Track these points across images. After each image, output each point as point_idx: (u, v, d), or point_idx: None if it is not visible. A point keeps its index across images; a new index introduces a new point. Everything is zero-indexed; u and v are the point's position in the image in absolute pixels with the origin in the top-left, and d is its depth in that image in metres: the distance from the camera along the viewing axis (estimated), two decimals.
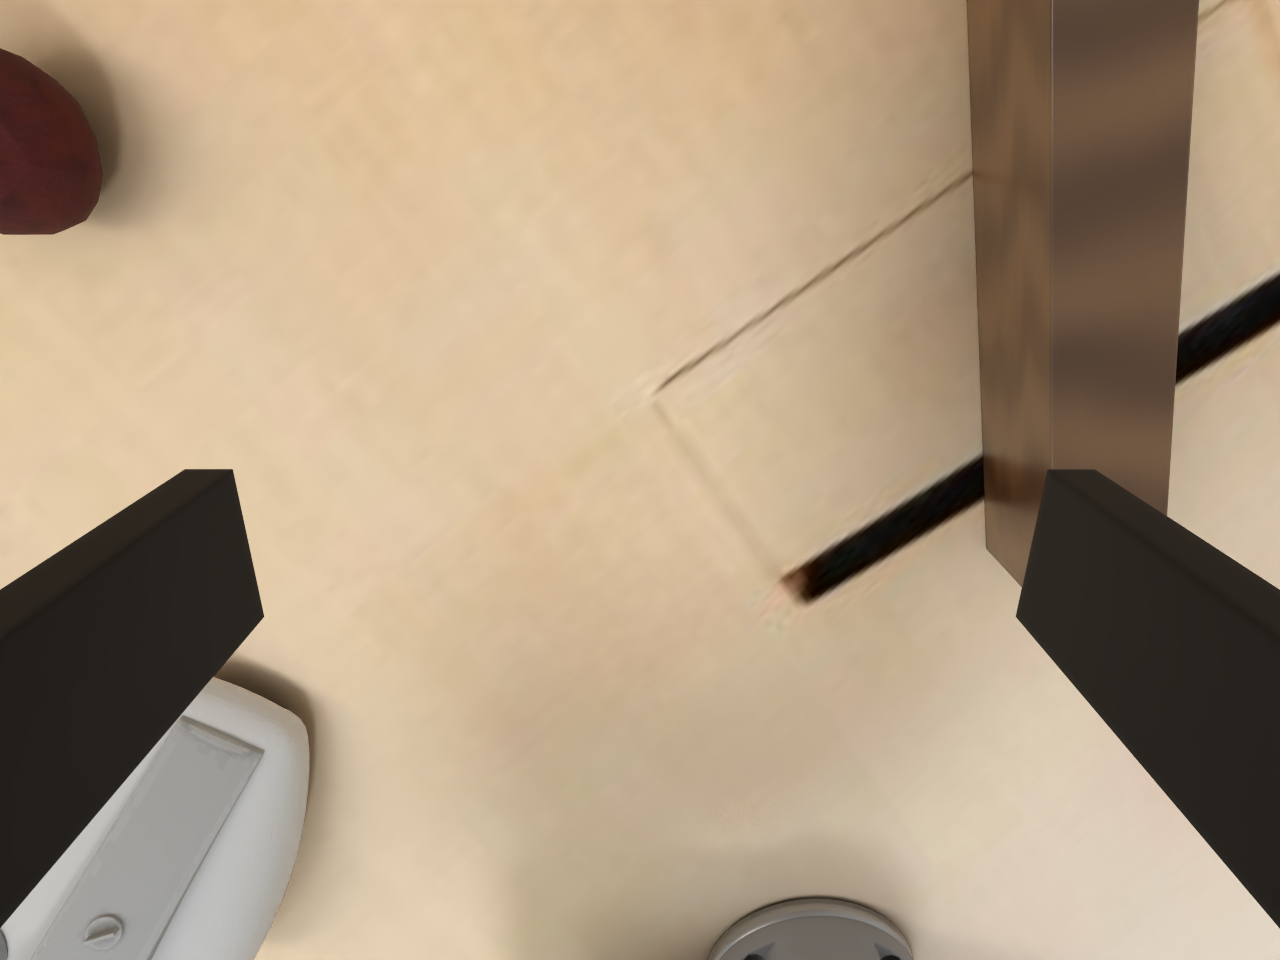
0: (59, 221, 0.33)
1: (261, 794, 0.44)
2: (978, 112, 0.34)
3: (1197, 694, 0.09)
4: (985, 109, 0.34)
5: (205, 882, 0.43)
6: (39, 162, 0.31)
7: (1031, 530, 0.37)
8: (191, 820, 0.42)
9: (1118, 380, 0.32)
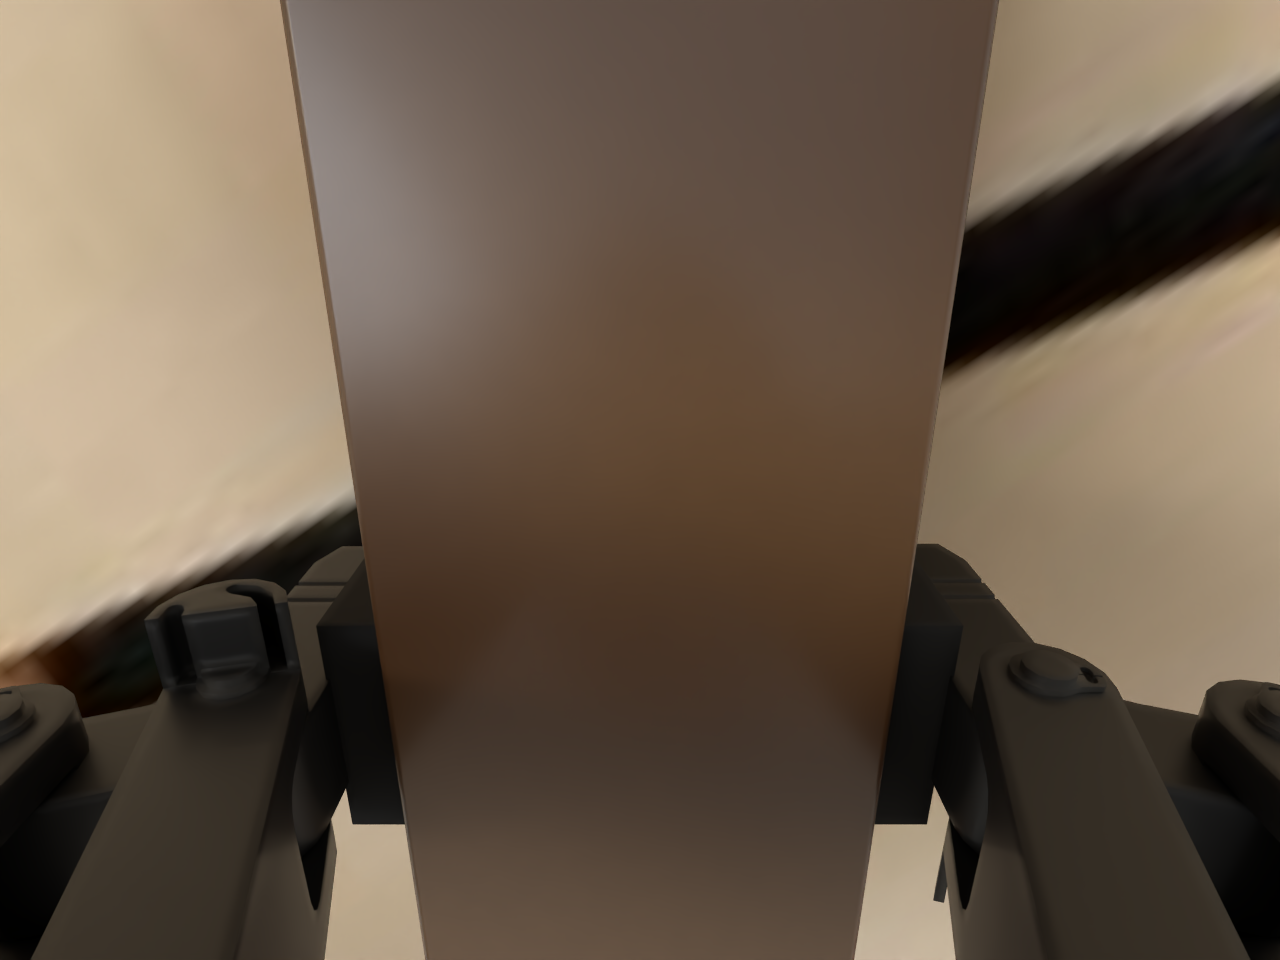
0: None
1: None
2: None
3: None
4: None
5: None
6: None
7: None
8: None
9: (667, 19, 0.05)
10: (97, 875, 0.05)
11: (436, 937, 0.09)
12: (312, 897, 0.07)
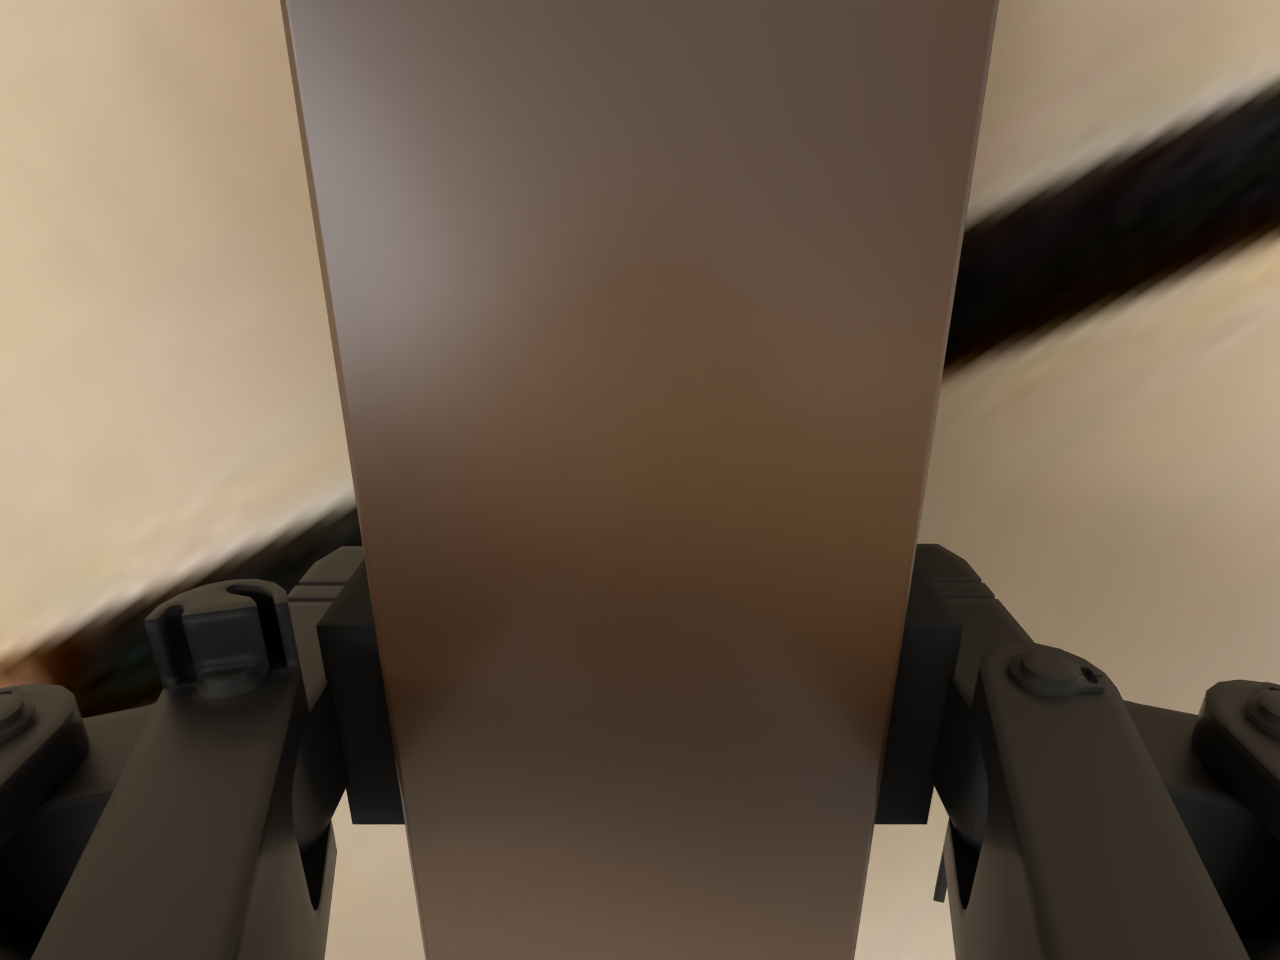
0: None
1: None
2: None
3: None
4: None
5: None
6: None
7: None
8: None
9: (667, 19, 0.05)
10: (97, 875, 0.05)
11: (436, 937, 0.09)
12: (312, 897, 0.07)
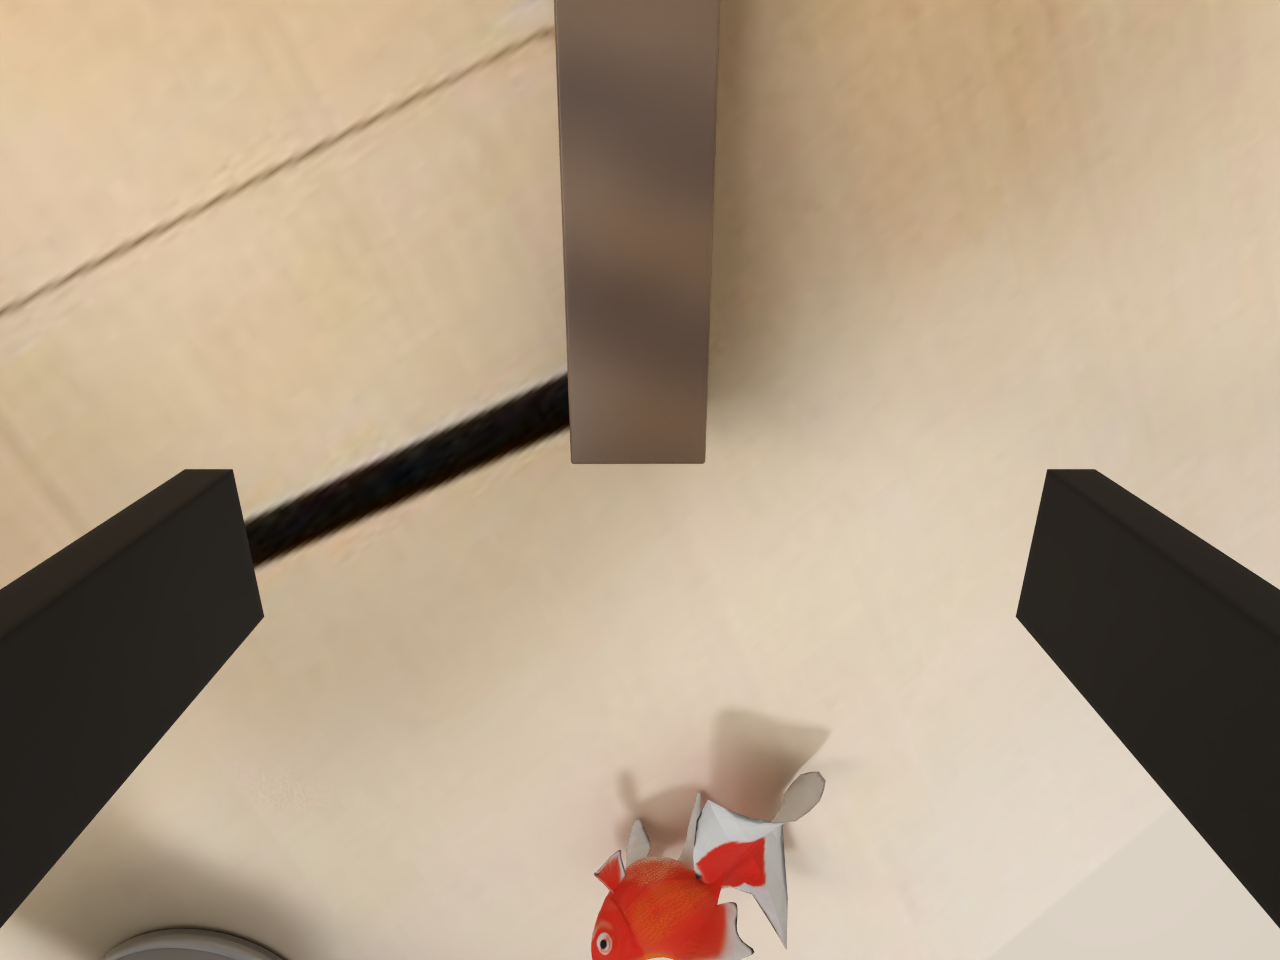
0: None
1: None
2: None
3: (1198, 695, 0.09)
4: None
5: None
6: None
7: None
8: None
9: (643, 141, 0.25)
10: None
11: (574, 412, 0.29)
12: None
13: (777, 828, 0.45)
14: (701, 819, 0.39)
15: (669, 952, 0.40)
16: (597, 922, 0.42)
